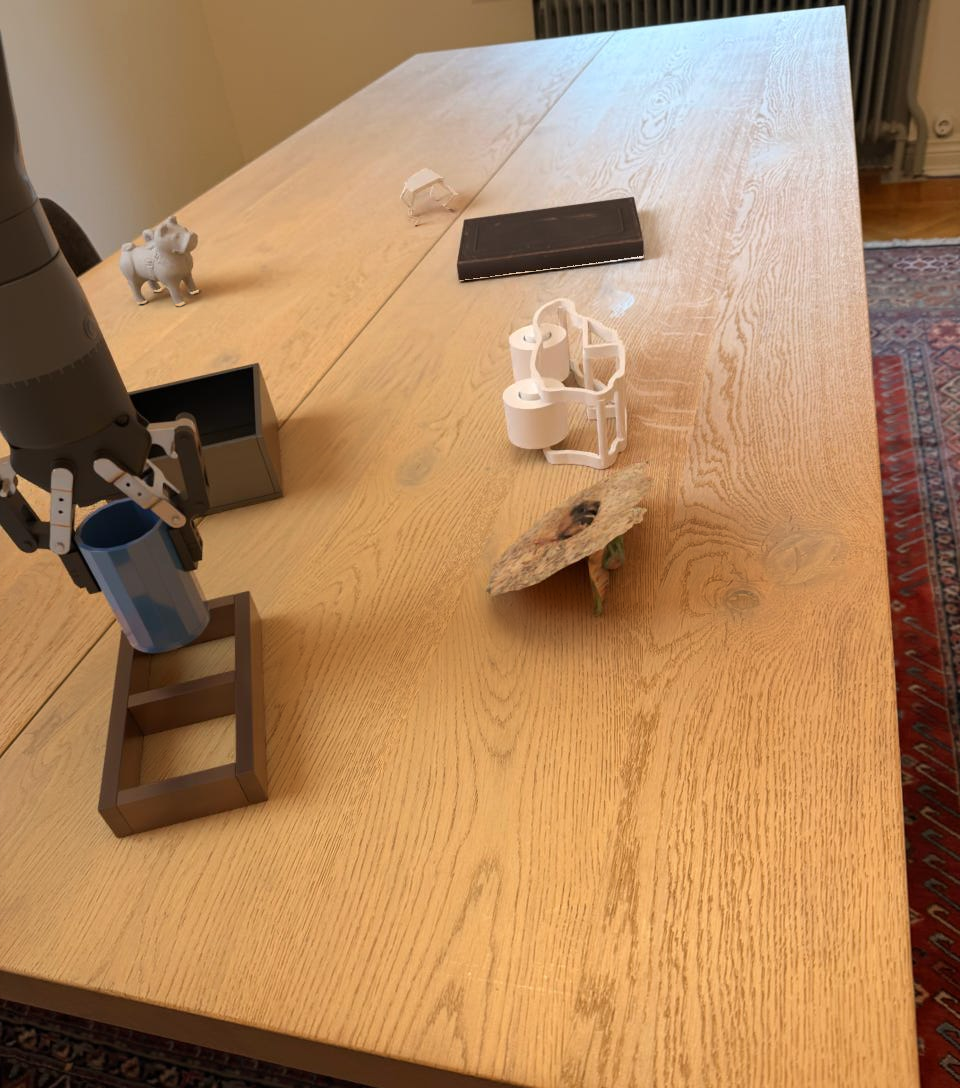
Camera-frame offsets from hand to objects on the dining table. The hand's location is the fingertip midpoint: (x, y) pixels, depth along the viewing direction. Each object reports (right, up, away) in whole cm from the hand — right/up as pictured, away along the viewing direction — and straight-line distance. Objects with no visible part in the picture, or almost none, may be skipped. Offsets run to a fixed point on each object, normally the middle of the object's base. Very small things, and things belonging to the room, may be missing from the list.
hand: (144, 574), depth 64 cm
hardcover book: (+32, +47, +58) cm, 81 cm away
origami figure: (+16, +59, +75) cm, 97 cm away
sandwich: (+30, +1, +10) cm, 32 cm away
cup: (+1, -3, +3) cm, 5 cm away
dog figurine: (-19, +42, +65) cm, 79 cm away
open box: (-4, +12, +29) cm, 31 cm away
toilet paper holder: (+32, +17, +27) cm, 45 cm away
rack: (+2, -10, +4) cm, 11 cm away
